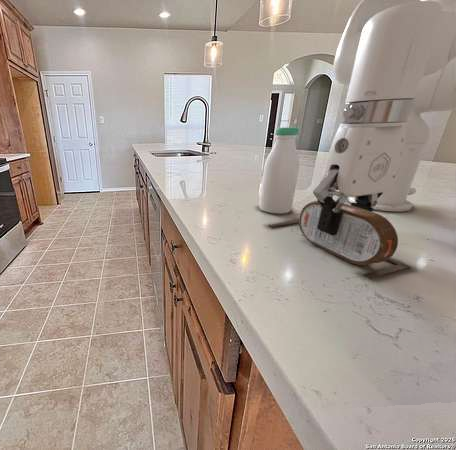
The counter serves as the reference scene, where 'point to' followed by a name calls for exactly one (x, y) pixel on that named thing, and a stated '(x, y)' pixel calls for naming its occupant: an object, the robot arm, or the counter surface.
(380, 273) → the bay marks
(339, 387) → the counter surface
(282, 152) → the milk bottle
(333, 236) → the tin
